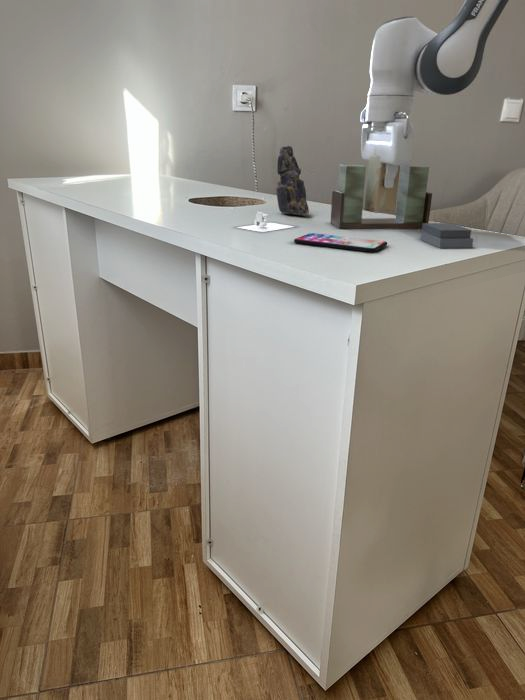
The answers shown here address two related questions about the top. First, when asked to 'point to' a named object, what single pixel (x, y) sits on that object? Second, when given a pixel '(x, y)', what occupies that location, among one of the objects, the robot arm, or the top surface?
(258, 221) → the adhesive hook
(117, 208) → the top surface
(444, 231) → the grey books
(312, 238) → the smartphone
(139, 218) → the top surface
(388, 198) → the box
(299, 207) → the statue
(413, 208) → the book rack
